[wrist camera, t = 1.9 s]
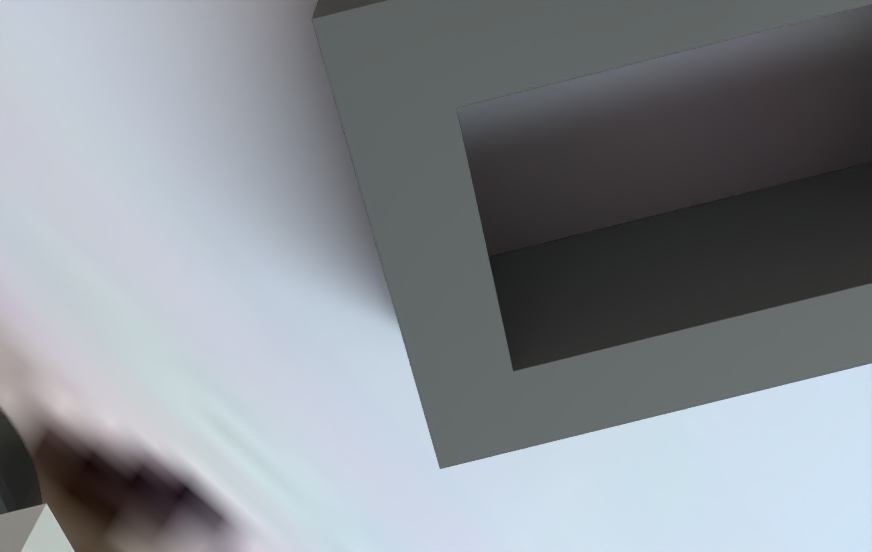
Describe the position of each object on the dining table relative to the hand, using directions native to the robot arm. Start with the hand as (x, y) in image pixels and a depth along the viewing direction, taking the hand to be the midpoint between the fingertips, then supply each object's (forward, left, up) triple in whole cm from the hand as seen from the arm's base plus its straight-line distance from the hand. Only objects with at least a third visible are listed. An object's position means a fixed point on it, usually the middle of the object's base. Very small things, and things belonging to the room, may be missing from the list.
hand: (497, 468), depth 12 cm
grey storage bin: (+9, 0, -15) cm, 17 cm away
